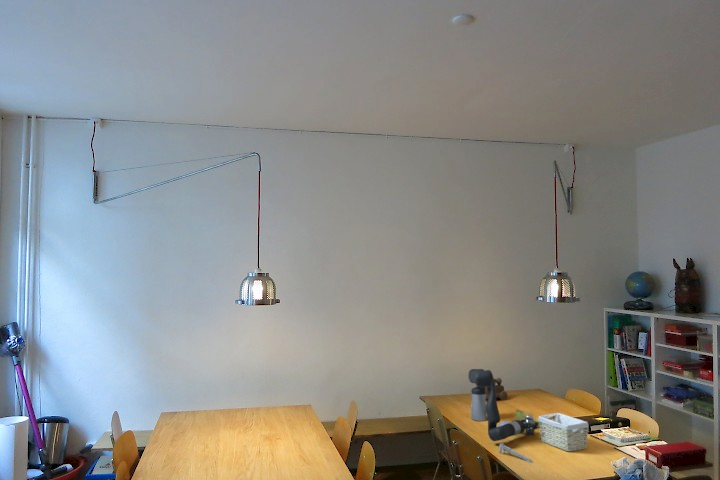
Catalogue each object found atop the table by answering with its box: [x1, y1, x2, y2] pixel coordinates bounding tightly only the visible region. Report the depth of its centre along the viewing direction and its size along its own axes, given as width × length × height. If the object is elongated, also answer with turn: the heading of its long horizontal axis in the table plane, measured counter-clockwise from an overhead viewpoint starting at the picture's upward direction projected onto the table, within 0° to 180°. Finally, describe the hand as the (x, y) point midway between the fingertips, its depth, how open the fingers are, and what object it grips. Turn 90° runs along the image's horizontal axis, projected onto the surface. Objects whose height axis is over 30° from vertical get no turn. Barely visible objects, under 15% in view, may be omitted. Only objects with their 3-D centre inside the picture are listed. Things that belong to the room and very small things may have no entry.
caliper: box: [498, 441, 534, 463], centre depth 284 cm, size 20×1×6 cm, turn 39°
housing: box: [524, 414, 535, 436], centre depth 323 cm, size 5×5×11 cm
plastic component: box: [514, 408, 540, 428], centre depth 344 cm, size 20×7×10 cm
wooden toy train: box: [485, 377, 509, 401], centre depth 410 cm, size 20×11×17 cm, turn 112°
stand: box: [497, 420, 511, 427], centre depth 331 cm, size 10×10×4 cm
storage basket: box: [537, 412, 589, 452], centre depth 302 cm, size 24×16×15 cm
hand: (531, 422), depth 324 cm, fingers open, 8 cm apart
